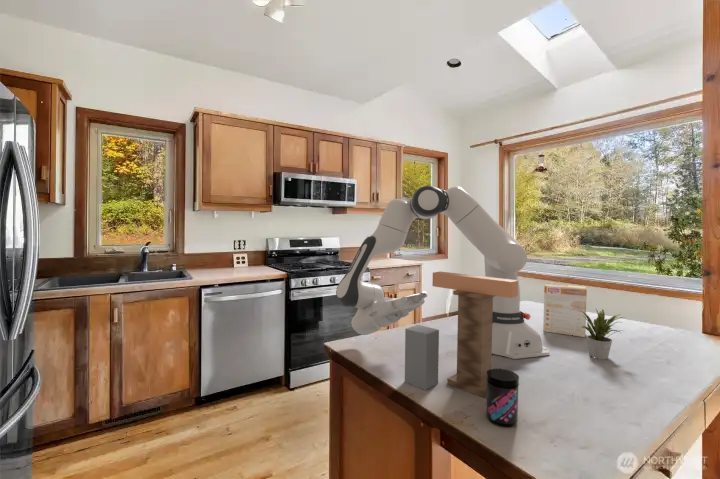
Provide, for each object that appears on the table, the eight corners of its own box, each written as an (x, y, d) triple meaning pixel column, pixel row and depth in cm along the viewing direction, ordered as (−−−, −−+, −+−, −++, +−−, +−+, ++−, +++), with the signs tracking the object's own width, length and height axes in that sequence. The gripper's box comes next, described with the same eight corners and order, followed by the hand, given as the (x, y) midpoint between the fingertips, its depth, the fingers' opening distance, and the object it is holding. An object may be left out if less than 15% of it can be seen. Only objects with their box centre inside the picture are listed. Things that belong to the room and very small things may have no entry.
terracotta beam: (432, 286, 103) (432, 272, 103) (439, 284, 106) (440, 271, 106) (511, 298, 87) (512, 282, 87) (518, 295, 90) (518, 280, 90)
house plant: (637, 368, 110) (640, 316, 109) (588, 364, 112) (590, 313, 112) (614, 352, 124) (616, 306, 123) (571, 349, 126) (572, 303, 126)
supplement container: (479, 419, 80) (480, 373, 80) (494, 408, 84) (495, 366, 84) (509, 432, 75) (510, 384, 74) (523, 420, 79) (524, 375, 79)
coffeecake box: (585, 333, 145) (586, 286, 144) (585, 337, 139) (587, 288, 138) (544, 327, 153) (545, 282, 153) (542, 331, 147) (544, 285, 147)
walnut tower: (447, 383, 98) (448, 290, 97) (463, 374, 104) (465, 286, 103) (485, 397, 90) (487, 296, 89) (500, 386, 96) (502, 292, 95)
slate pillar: (404, 381, 99) (405, 328, 98) (417, 375, 103) (418, 324, 102) (425, 390, 94) (426, 334, 93) (438, 383, 98) (438, 329, 97)
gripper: (362, 307, 112) (391, 291, 104) (402, 298, 127) (430, 283, 118) (369, 326, 110) (399, 311, 102) (409, 315, 125) (438, 300, 116)
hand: (416, 296), depth 110 cm, fingers open, 8 cm apart
